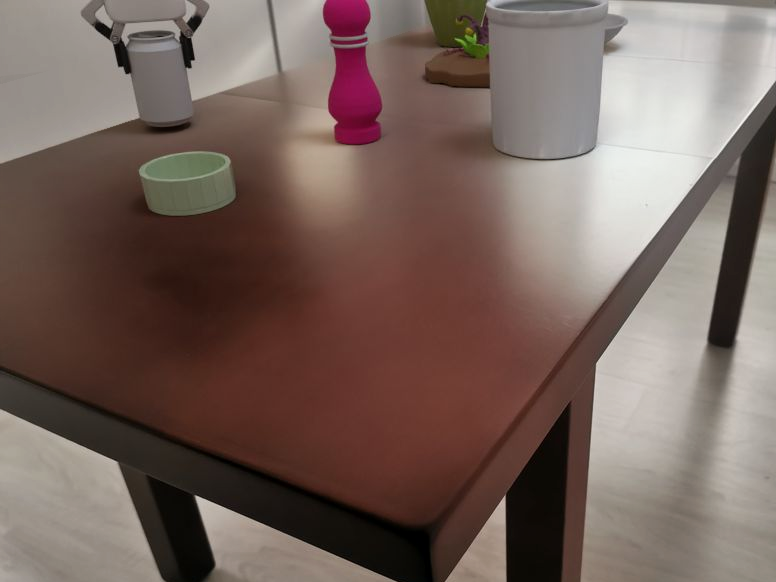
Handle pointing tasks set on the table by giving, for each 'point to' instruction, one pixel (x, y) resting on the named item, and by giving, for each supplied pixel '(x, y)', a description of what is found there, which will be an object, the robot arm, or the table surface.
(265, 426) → the table surface
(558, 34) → the utensil holder
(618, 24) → the dish
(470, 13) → the flower pot
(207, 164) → the ramekin
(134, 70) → the can
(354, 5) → the pepper mill
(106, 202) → the table surface
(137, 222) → the table surface
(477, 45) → the plant
